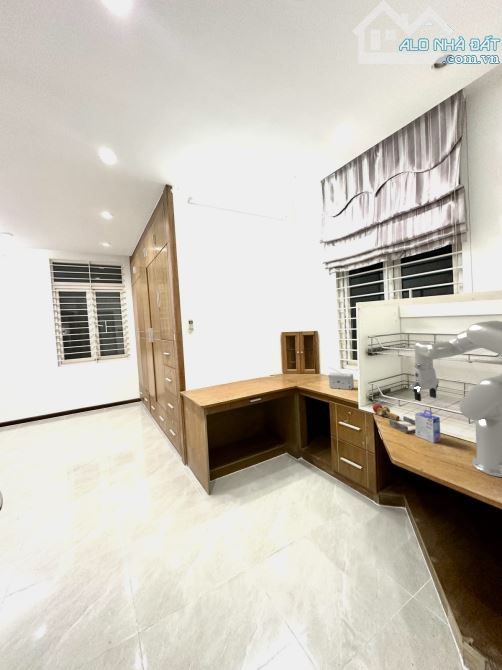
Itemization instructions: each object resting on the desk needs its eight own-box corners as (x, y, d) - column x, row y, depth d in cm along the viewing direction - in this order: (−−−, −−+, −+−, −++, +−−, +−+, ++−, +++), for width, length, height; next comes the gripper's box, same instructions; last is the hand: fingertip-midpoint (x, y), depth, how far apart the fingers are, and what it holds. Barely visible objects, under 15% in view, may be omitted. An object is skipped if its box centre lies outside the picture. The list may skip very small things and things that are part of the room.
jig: (422, 430, 143) (422, 423, 142) (406, 433, 140) (406, 427, 140) (405, 422, 154) (404, 416, 154) (389, 425, 152) (389, 419, 151)
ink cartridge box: (441, 440, 130) (440, 412, 129) (434, 443, 128) (432, 415, 127) (422, 433, 139) (420, 407, 138) (415, 435, 137) (413, 409, 136)
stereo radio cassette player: (354, 388, 231) (352, 366, 230) (351, 390, 224) (350, 368, 223) (331, 386, 244) (329, 365, 242) (328, 388, 237) (326, 367, 236)
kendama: (403, 420, 160) (378, 408, 176) (402, 411, 158) (378, 400, 174) (394, 425, 157) (370, 412, 174) (393, 416, 156) (369, 404, 172)
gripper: (416, 369, 126) (418, 403, 127) (444, 365, 130) (445, 398, 131) (404, 367, 133) (405, 399, 134) (430, 362, 137) (432, 394, 138)
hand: (425, 398), depth 132 cm, fingers open, 9 cm apart
